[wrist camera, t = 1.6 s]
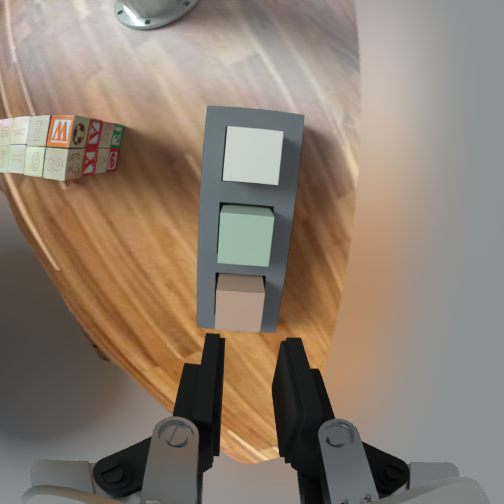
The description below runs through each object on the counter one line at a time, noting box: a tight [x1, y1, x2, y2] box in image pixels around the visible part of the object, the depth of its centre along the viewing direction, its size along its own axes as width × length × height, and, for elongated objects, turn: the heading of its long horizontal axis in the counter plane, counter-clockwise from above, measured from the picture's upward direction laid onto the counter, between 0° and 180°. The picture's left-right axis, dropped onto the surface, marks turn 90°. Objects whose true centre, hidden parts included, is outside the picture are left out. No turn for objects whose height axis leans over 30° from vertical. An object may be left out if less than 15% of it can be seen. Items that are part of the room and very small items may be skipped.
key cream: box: [223, 126, 283, 185], centre depth 26 cm, size 5×5×5 cm
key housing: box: [197, 106, 304, 333], centre depth 31 cm, size 26×10×6 cm, turn 175°
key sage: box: [218, 204, 274, 267], centre depth 28 cm, size 5×5×5 cm
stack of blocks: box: [0, 115, 124, 181], centre depth 23 cm, size 21×6×12 cm, turn 76°
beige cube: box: [215, 273, 265, 332], centre depth 31 cm, size 5×5×5 cm
